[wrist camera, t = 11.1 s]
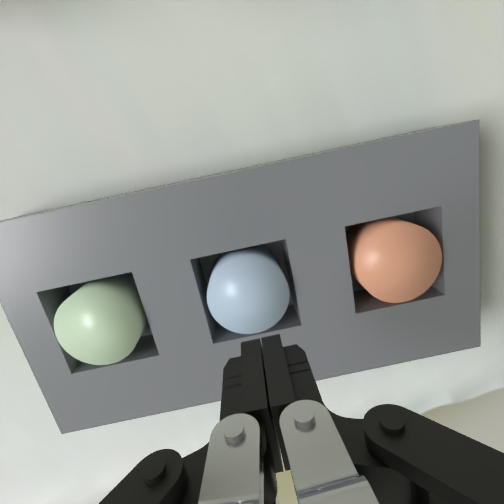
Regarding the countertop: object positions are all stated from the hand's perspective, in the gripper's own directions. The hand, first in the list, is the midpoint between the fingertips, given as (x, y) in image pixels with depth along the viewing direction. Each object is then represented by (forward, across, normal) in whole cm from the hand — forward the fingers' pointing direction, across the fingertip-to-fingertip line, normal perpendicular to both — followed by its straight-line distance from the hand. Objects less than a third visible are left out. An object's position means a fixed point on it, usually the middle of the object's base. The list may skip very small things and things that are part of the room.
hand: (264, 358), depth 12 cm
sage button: (+10, +9, 0) cm, 14 cm away
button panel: (+11, 0, 0) cm, 11 cm away
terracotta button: (+10, -9, 0) cm, 13 cm away
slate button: (+10, 0, 0) cm, 10 cm away
